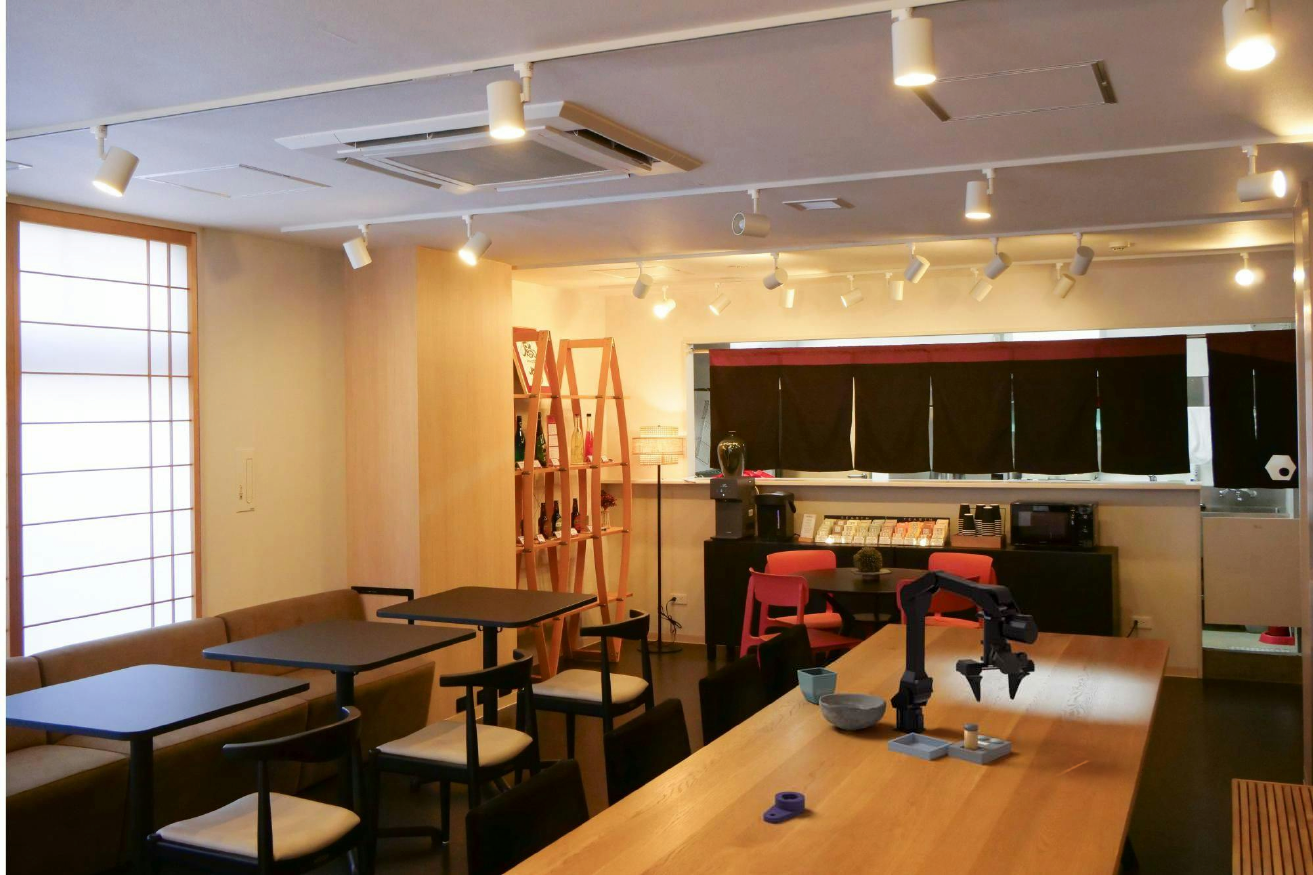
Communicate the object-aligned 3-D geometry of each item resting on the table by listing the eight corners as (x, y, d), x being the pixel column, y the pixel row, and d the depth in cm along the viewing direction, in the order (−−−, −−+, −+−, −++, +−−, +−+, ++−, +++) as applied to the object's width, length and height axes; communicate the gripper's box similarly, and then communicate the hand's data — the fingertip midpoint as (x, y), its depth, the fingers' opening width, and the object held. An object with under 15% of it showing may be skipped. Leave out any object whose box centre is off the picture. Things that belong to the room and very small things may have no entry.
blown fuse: (961, 757, 259) (961, 724, 259) (968, 754, 261) (968, 722, 261) (973, 760, 256) (973, 727, 256) (981, 757, 259) (980, 724, 258)
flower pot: (796, 699, 317) (796, 669, 317) (821, 696, 321) (821, 666, 321) (813, 706, 309) (812, 675, 309) (838, 703, 313) (838, 672, 313)
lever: (785, 804, 230) (784, 789, 230) (810, 810, 226) (810, 795, 226) (754, 820, 220) (754, 805, 220) (780, 826, 216) (780, 811, 216)
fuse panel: (948, 758, 260) (948, 743, 260) (978, 746, 269) (978, 732, 269) (981, 766, 253) (981, 752, 253) (1010, 754, 263) (1010, 740, 263)
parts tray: (887, 751, 266) (887, 741, 266) (912, 742, 273) (912, 732, 273) (929, 762, 257) (929, 751, 257) (953, 752, 264) (953, 742, 264)
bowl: (882, 719, 295) (882, 690, 295) (890, 737, 277) (890, 707, 277) (817, 718, 297) (817, 689, 297) (820, 736, 279) (820, 706, 279)
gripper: (978, 646, 252) (978, 711, 252) (1048, 642, 256) (1047, 706, 256) (954, 636, 263) (954, 699, 263) (1022, 633, 267) (1021, 695, 267)
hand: (995, 700), depth 262 cm, fingers open, 9 cm apart
